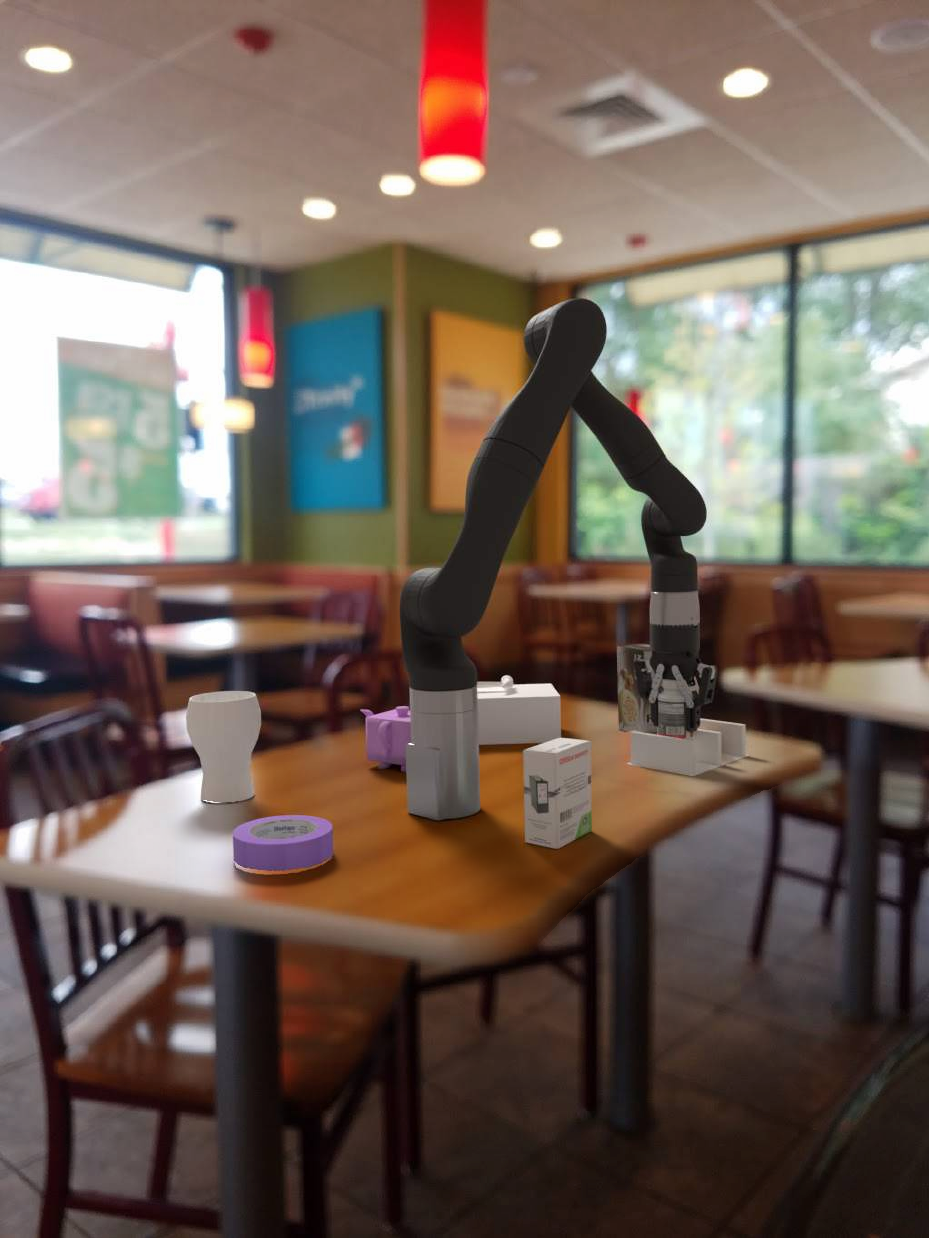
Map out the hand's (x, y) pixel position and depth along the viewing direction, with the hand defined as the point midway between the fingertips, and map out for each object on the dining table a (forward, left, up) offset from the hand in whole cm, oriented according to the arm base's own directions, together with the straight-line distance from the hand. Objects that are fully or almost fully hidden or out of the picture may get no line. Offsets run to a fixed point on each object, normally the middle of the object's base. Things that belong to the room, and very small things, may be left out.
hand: (675, 728), depth 150 cm
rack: (+4, 0, -7) cm, 8 cm away
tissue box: (0, +41, -7) cm, 41 cm away
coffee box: (+21, +20, -7) cm, 30 cm away
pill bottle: (0, 0, -2) cm, 2 cm away
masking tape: (-64, +13, -7) cm, 66 cm away
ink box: (-37, -7, -7) cm, 39 cm away
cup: (-54, +42, -7) cm, 69 cm away
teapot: (-24, +36, -7) cm, 44 cm away
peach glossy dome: (+7, 0, -6) cm, 9 cm away
